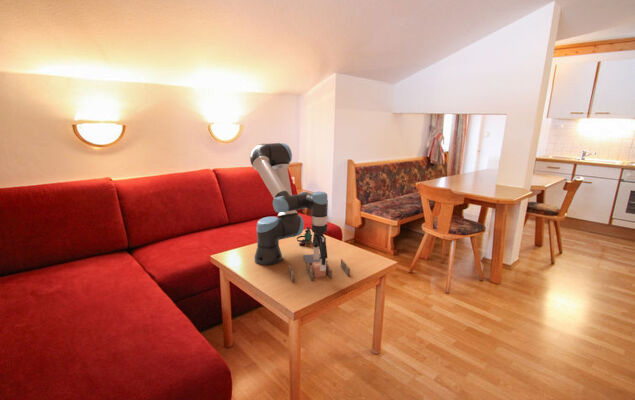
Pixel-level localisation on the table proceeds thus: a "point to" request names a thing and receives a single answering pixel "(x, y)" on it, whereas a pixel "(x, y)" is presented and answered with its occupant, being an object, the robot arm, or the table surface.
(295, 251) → the table surface
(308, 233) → the binoculars
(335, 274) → the table surface
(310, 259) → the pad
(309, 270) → the bay rack
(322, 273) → the letter cube
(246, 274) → the table surface
